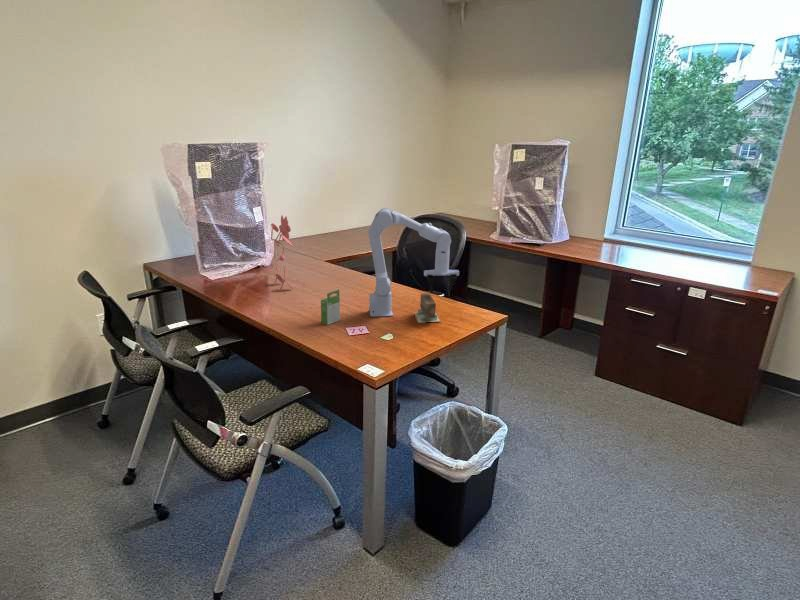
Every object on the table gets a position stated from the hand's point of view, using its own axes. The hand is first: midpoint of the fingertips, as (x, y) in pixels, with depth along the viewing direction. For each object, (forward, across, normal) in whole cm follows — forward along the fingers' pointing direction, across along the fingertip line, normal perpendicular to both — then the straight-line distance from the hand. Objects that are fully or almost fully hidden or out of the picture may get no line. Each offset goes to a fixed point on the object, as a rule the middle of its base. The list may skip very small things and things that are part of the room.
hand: (440, 292), depth 201 cm
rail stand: (+10, -6, -4) cm, 12 cm away
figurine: (+10, -66, +43) cm, 79 cm away
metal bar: (+7, -6, -4) cm, 10 cm away
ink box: (+10, -46, -5) cm, 47 cm away
